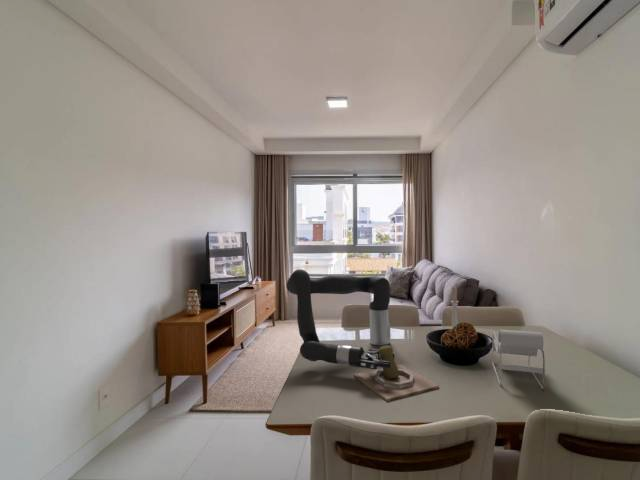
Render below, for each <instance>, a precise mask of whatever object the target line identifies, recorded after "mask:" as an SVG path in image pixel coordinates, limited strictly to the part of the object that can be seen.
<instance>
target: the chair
mask: <svg viewBox="0 0 640 480" xmlns="http://www.w3.org/2000/svg"><path fill="white" fill-rule="evenodd" d="M491 345H492V352H491V363H492V366H493V370H494V373H495V376H496V378H497V381H498V384H499V386H501V385H502V370H504V371H505V370H506V371H507V370H508V371H515V372H516V371H517V372H525V373H531V374H532V376H533V377H534V378H535V380H536V382H537V383H538V385H539V387H540V388H541V390H542V391H545V390H546V389H545V385H546V384H545V383H546V382H545V379H546V377H545V372H546V370H545V367H546V365H545V361H546V359H545V353H544V336H543V333H542V332H539V331H527V330H525V331H524V330H510V329H499V330H498V338H497V335H496V333H495V331H493V332H492V344H491ZM538 350H540V351H541V353H542V367H534V366H533V367H532V366H531V365H530V358H531V357H537V356H538ZM494 352H496V353H497V354H499V374H498V371H497V370H496V366H495V363H494ZM502 354H507V355H517V356H525V357H527V366H523V365H515V364H514V365H513V364H505V363H504V364H503V363H502ZM536 374H542V376H543V377H542V384H541V383H540V381H539V379H538V378H537V377H538V376H536Z"/></svg>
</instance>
